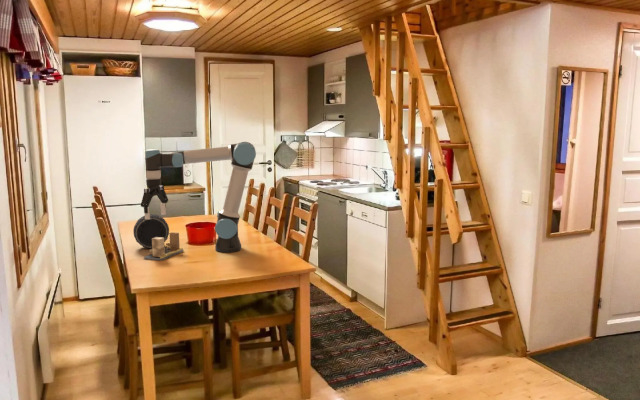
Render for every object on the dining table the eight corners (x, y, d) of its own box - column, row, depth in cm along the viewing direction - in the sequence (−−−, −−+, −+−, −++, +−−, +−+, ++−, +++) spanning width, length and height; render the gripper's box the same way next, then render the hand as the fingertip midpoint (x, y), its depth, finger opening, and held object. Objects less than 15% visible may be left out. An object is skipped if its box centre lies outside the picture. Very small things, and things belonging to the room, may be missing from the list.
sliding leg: (164, 255, 278) (164, 237, 277) (160, 257, 275) (159, 239, 273) (152, 254, 281) (151, 236, 279) (148, 255, 277) (147, 238, 276)
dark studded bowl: (170, 248, 300) (168, 215, 296) (134, 251, 293) (132, 217, 290) (169, 244, 310) (167, 212, 306) (134, 246, 303) (132, 214, 300)
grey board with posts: (183, 251, 293) (182, 232, 291) (161, 260, 273) (160, 240, 271) (167, 249, 296) (166, 231, 294) (144, 259, 277) (143, 239, 275)
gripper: (162, 175, 285) (164, 212, 289) (132, 180, 262) (134, 220, 266) (173, 176, 283) (175, 213, 286) (143, 181, 260) (146, 221, 263)
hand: (155, 216), depth 276 cm, fingers open, 13 cm apart
